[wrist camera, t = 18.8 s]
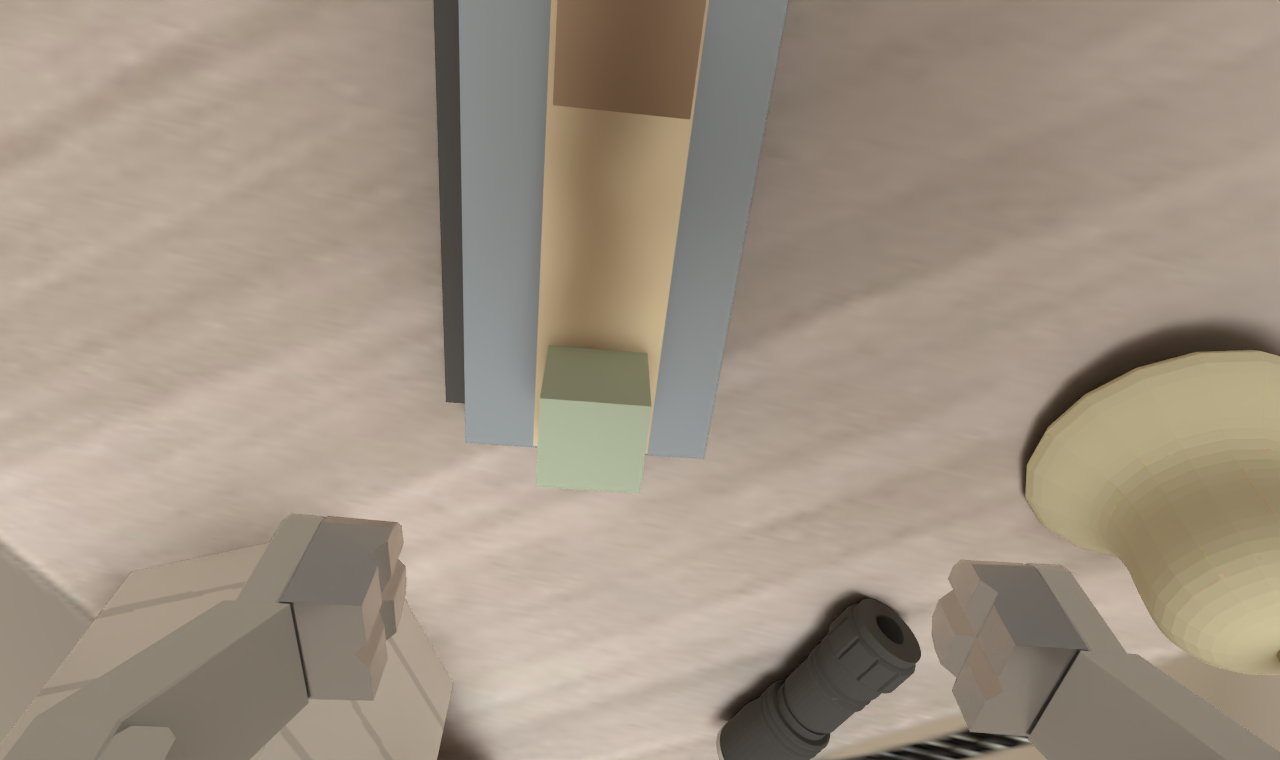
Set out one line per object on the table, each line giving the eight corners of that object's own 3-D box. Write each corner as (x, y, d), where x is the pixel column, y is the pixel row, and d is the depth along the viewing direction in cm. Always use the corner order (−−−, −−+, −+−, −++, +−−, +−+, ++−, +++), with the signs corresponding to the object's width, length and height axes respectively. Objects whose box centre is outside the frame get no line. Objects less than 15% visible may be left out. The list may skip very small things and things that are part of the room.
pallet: (706, -75, 26) (719, -76, 23) (644, 404, 36) (647, 453, 33) (563, -93, 26) (554, -97, 22) (540, 396, 36) (533, 445, 33)
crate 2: (647, 353, 30) (651, 406, 27) (637, 434, 32) (640, 493, 29) (548, 345, 30) (539, 398, 27) (544, 427, 32) (535, 486, 29)
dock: (799, -157, 28) (819, -166, 25) (698, 425, 41) (703, 459, 38) (442, -205, 27) (423, -220, 24) (456, 408, 40) (445, 441, 37)
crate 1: (697, -41, 23) (710, -37, 20) (679, 94, 25) (689, 119, 22) (568, -57, 23) (559, -55, 20) (561, 81, 25) (552, 105, 22)
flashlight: (847, 578, 47) (873, 648, 43) (912, 608, 49) (943, 678, 44) (712, 714, 54) (721, 787, 49) (772, 736, 55) (787, 810, 51)
